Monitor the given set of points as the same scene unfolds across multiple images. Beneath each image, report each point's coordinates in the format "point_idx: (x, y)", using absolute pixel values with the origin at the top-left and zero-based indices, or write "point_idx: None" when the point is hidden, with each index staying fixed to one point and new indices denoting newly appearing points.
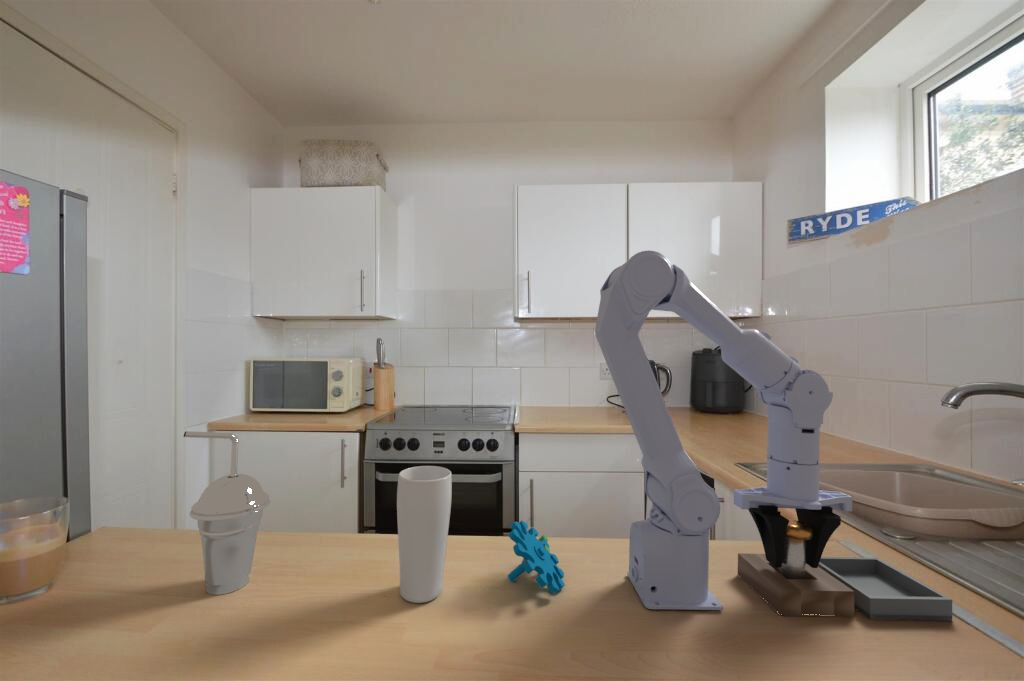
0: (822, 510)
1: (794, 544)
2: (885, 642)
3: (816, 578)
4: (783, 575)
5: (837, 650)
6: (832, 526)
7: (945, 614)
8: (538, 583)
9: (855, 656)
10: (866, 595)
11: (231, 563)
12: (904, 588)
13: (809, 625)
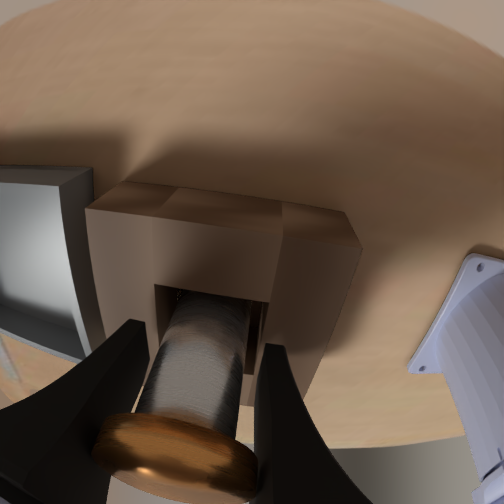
0: (20, 497)
1: (205, 408)
2: (132, 76)
3: (153, 290)
4: (247, 325)
5: (311, 56)
6: (8, 427)
7: None
8: None
9: (279, 29)
10: (59, 200)
11: None
12: None
13: (294, 160)
